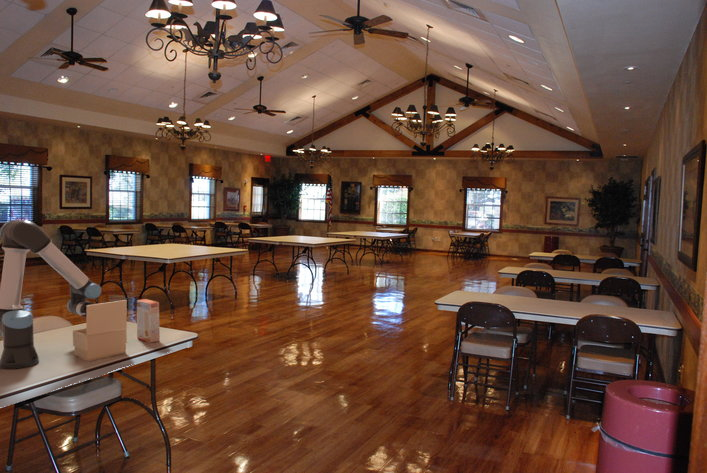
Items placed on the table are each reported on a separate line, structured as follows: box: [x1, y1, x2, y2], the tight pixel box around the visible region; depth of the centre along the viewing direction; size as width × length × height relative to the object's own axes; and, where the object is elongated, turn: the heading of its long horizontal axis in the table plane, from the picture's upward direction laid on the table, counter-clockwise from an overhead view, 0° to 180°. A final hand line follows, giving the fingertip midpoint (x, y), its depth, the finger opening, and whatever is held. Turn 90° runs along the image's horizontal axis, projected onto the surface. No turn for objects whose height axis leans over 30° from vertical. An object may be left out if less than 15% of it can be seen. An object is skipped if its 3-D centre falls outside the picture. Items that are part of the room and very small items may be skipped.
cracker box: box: [136, 298, 161, 344], centre depth 289 cm, size 14×6×21 cm, turn 47°
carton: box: [72, 328, 128, 363], centre depth 262 cm, size 15×19×12 cm
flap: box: [85, 299, 128, 336], centre depth 256 cm, size 14×19×1 cm
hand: (110, 316), depth 258 cm, fingers closed
